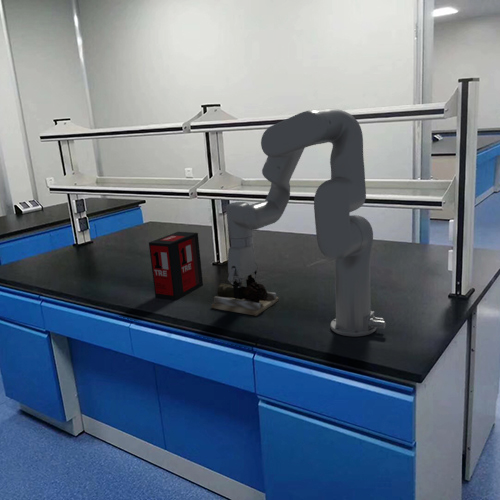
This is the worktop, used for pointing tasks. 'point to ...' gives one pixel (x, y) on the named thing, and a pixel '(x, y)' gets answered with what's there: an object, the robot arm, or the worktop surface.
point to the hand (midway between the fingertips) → (245, 294)
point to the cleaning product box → (176, 265)
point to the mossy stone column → (244, 292)
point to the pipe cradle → (244, 304)
